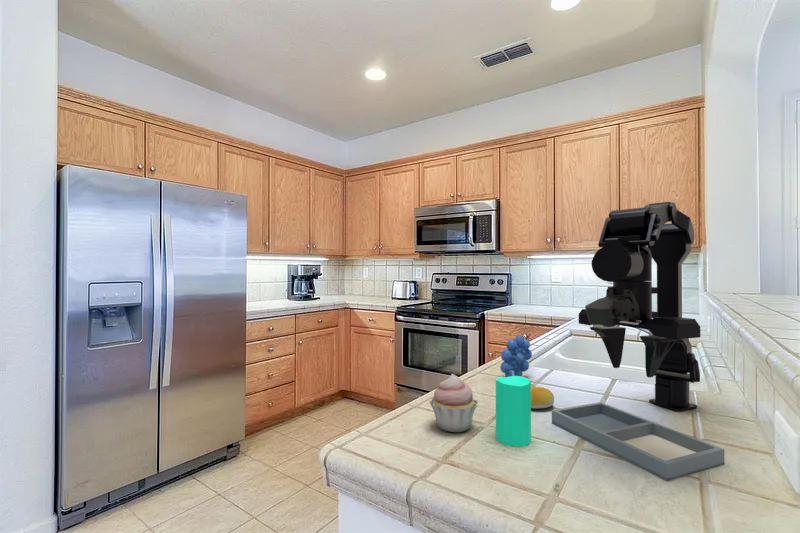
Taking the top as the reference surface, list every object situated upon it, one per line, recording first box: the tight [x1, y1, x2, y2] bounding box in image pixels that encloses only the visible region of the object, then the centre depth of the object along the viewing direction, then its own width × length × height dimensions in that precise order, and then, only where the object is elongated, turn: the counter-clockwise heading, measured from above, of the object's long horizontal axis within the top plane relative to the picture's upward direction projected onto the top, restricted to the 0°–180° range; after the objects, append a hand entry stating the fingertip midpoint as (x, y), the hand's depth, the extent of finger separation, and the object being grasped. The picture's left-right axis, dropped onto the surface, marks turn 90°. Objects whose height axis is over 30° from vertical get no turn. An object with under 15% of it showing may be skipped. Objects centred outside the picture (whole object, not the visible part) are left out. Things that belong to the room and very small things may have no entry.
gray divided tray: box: [551, 401, 725, 482], centre depth 67 cm, size 13×22×2 cm, turn 21°
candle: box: [495, 375, 532, 447], centre depth 68 cm, size 6×6×12 cm
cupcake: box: [428, 373, 479, 433], centre depth 74 cm, size 9×9×10 cm
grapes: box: [499, 334, 533, 377], centre depth 106 cm, size 12×7×12 cm, turn 123°
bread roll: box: [531, 383, 555, 409], centre depth 85 cm, size 8×9×4 cm
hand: (632, 372), depth 66 cm, fingers open, 6 cm apart
